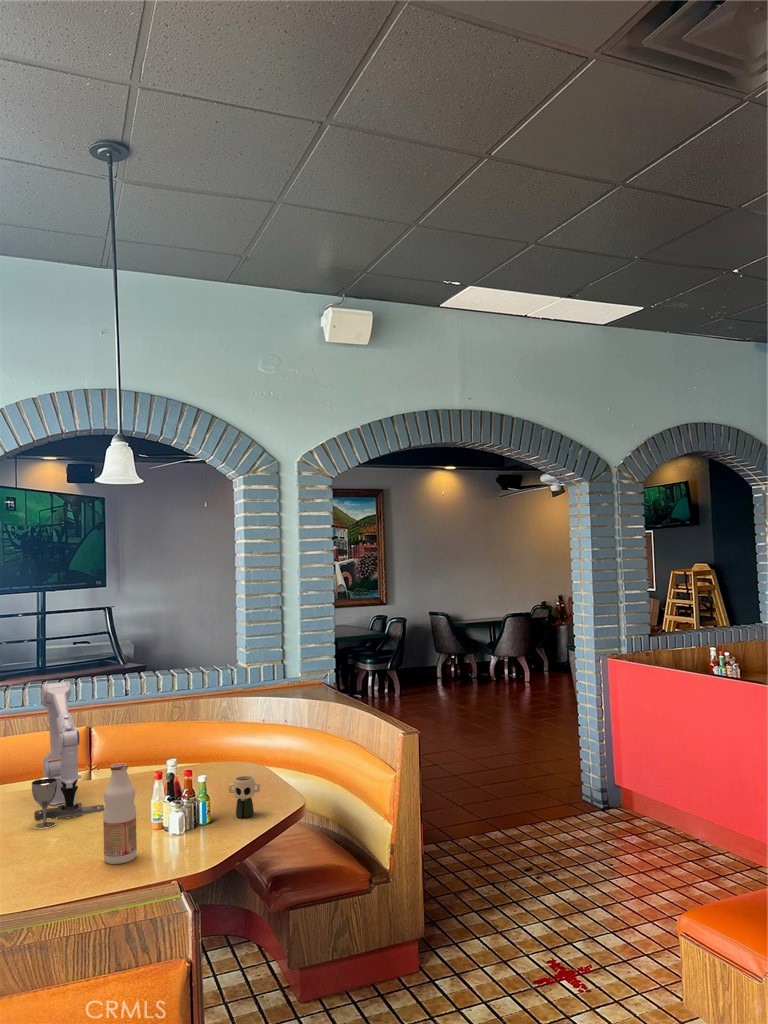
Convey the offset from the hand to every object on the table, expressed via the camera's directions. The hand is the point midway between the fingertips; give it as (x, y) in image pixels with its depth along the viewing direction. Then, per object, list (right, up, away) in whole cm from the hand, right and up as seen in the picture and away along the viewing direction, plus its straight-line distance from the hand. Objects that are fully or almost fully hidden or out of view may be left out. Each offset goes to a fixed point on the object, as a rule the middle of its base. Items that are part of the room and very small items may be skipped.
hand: (69, 803), depth 277 cm
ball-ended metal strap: (0, -4, 0) cm, 4 cm away
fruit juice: (+33, -1, -43) cm, 54 cm away
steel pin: (0, -4, 0) cm, 4 cm away
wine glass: (-4, -4, -11) cm, 12 cm away
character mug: (+64, -2, -8) cm, 65 cm away
